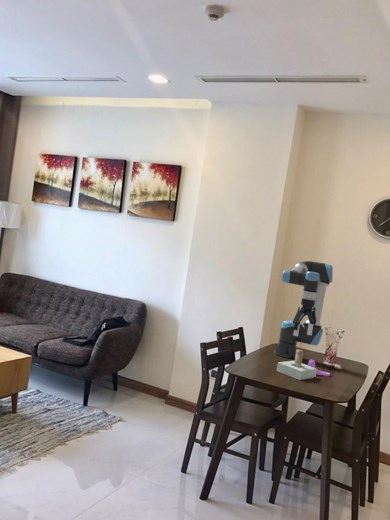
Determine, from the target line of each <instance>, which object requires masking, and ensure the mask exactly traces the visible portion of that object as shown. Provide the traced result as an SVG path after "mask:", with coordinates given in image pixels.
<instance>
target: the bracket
mask: <svg viewBox="0 0 390 520" xmlns="http://www.w3.org/2000/svg"><path fill="white" fill-rule="evenodd" d="M307 365H308V366H311V367H313V368H316V361H315V360H314V359H309V360H308V363H307ZM316 375H319V376H322V375H323V377H330V376H331V373H330V372H327V371H323V370H318V369H317V372H316Z"/></svg>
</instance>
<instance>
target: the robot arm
mask: <svg viewBox="0 0 390 520" xmlns="http://www.w3.org/2000/svg"><path fill="white" fill-rule="evenodd" d="M333 271H334V268H333V265H332V264H328V263H324V262H318V261H311V260H306V261H305V260H304V261H301V262H298V263H295V265H294V266H293V268H292V269H291V270H285V269H284V270H283V272H282V274H281V281H282V283H284V284H291V285H296V286H302V287H303V290H302V296H301V297H302V298H301V302H300V304H301V305H302V306H298V307H297V311H296V314H295V316H294V317H293V320H283V321H282V322H281V327H280V332H279V338H278V342H277V344H276V347H275V349H274V352H273V353H274V355H277V356H278V357H282V358H285V359H286V358H287V359H295V356H296V350H297V344H298V343H301V344H306V345H311V346H316V347H317V346H318V345H319V344H320V342H321V340H322V336H323V332H324V329H323V328H322V325H321V319H322V318H321V317H322V312H323V308H324V300H325V297H326V291H327V287H328V286H330V283H333V275H334V274H333ZM304 317H306V320H304V321H303V319H304ZM302 321H303V322H302ZM301 322H302V323H303V324H301Z"/></svg>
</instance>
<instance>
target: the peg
mask: <svg viewBox="0 0 390 520" xmlns="http://www.w3.org/2000/svg"><path fill="white" fill-rule="evenodd" d="M303 356H304V349H303V350H302V349H300V348H299V349H297V350H296V356H295V358H294V361H295V362H294V366H295V367H298V368H301V364H303V358H304V357H303Z"/></svg>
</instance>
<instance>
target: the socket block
mask: <svg viewBox="0 0 390 520" xmlns="http://www.w3.org/2000/svg"><path fill="white" fill-rule="evenodd" d="M294 362H295V360H288V361H280V362H279V361H278V362H277V365H276V372H278V373H281V374H283V375H286V376H289V377H290V378H293V379H296V380H299V381H301V380H308V379H314V377H315V378H316V376H317V374H316V372H317V370H318V369H317V368H316V367H315V368H313V367H311V366H308V364H305V363H302V364H301V368H298V367H295V366H294Z"/></svg>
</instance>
